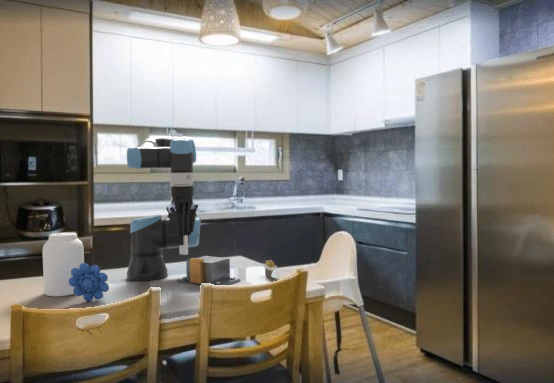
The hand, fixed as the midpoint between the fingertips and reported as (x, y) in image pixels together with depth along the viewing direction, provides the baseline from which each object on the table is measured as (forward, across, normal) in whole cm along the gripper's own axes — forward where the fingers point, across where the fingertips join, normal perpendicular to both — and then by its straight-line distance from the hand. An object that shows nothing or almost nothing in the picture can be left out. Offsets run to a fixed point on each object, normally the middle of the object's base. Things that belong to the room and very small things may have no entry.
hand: (183, 254), depth 152 cm
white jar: (+12, -25, +31) cm, 42 cm away
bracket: (+12, +11, -1) cm, 16 cm away
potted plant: (+12, +26, -18) cm, 34 cm away
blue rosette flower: (+12, -28, +13) cm, 33 cm away
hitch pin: (+11, +12, -1) cm, 17 cm away
